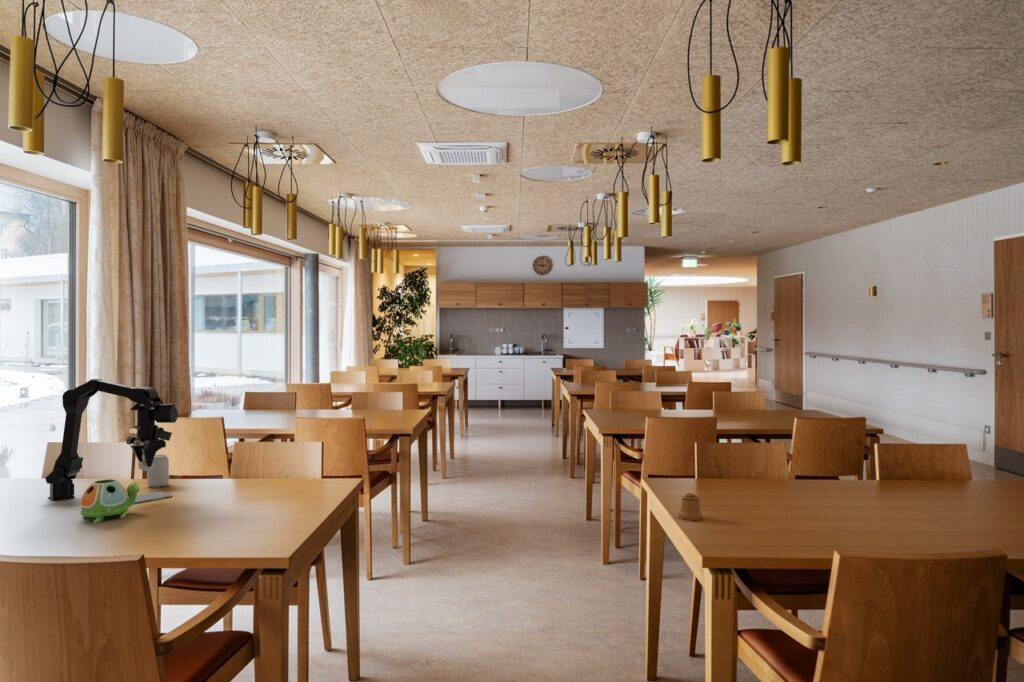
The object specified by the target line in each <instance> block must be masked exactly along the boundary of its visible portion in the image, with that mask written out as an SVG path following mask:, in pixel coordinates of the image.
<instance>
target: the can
mask: <svg viewBox="0 0 1024 682" xmlns="http://www.w3.org/2000/svg"><path fill="white" fill-rule="evenodd" d="M153 461H154V463H155V467H154V469H153V470H150V471H146V485H147V486H148V487H149V488H153V487H156V488H161V487H160V486H163V487H165V486H164V485H166V486H167V485H168V484H169V481H170V477H169V476H170V472H169V470H170V467H169V466H170V464H169V461H170V459H169V457H168V455H167V454H164V453H163V454H155V456H154V459H153Z"/></svg>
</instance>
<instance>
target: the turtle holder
mask: <svg viewBox="0 0 1024 682" xmlns="http://www.w3.org/2000/svg"><path fill="white" fill-rule="evenodd" d="M140 489H141V488H140V487H139V486H138V484H137V482H132V483H130V484H128V486H127V487H125V486H124V485H123V484H122V483H120V482H119V480H118V479H116V478H115V479H114V478H106V479H99V480H95V481H92V482H91V484H90V485H88V487H86V488H85V490H84V492H83V494H82V497H81V499H80V509H81V510H80V515H81V516H82V519H90V518H95V519H94V520H93V521H92V523H93V524H98V523H101V522H102V521H103V520H104V517H109V516H115V515H118V514H119V519H120V518H121V519H124V517H125V518H126V517H127V511H128V510H129V508H131V507H132V506H133V505H134V504H133V503H134V502H135V500H136V496H137V495H138V493H140ZM102 523H103V522H102Z"/></svg>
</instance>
